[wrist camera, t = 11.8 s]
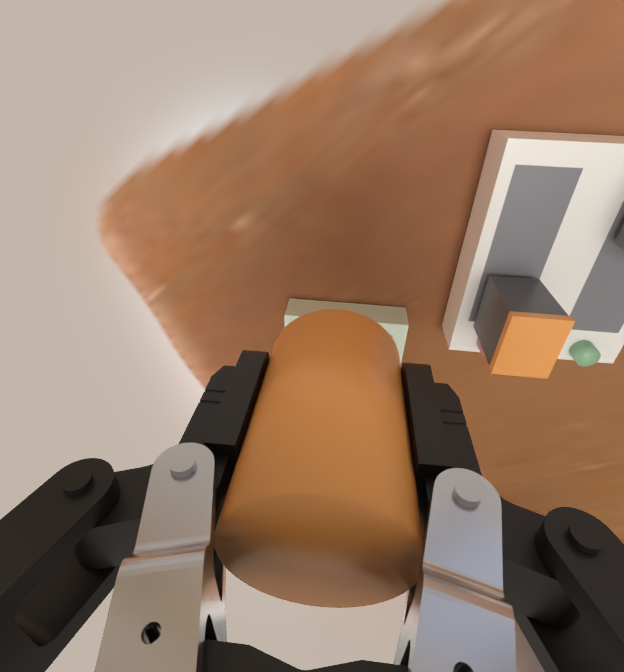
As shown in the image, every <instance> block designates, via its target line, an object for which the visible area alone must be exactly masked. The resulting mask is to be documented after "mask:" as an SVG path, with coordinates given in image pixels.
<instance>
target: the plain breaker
mask: <svg viewBox="0 0 624 672" xmlns="http://www.w3.org/2000/svg"><path fill="white" fill-rule="evenodd" d="M615 244H617V245H618V246H619V247H621V248H622V249H623V250H624V224H623V226H622V228H621V230H620V232H619V234H618V236H617V238H616V240H615Z"/></svg>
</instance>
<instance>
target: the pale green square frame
mask: <svg viewBox="0 0 624 672" xmlns="http://www.w3.org/2000/svg"><path fill="white" fill-rule="evenodd" d="M325 309H341V310H348V311H352V312H356V313H359V314H362V315H364V316H366V317H368V318H370V319H372V320H374V321H375V322H377V323H378V324H380V325H381V326H382V327H383V328H384V329H385V330H386V331H387V332H388V333H389V334H390V336H391V337H392V339H393V340H394V342H395V344H396V346H397V349H398V352H399V357H400V365H401V362H402V357H403V352H404V347H405V342H406V337H407V332H408V327H409V323H408V317H407V311H406V307H393V306H381V305H368V304H356V303H343V302H330V301H318V300H305V299H293V298H289V302H288V305H287V308H286V311H285V315H284V324H285V327H286V326H287V325H288V324H289V323H290V322H292V321H293V320H295V319H296V318H298V317H300V316H302V315H304V314H307V313H310V312H314V311H318V310H325Z"/></svg>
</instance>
